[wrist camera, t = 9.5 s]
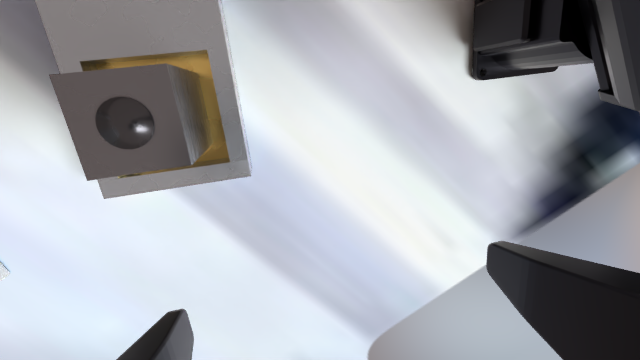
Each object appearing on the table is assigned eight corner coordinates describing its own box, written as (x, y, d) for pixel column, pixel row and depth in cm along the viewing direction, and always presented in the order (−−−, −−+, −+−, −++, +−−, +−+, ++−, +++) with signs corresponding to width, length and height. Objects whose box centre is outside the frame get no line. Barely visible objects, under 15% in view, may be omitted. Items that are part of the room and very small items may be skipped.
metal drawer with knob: (198, 73, 17) (165, 63, 11) (213, 142, 18) (191, 165, 12) (122, 81, 16) (47, 74, 11) (143, 152, 18) (86, 181, 12)
